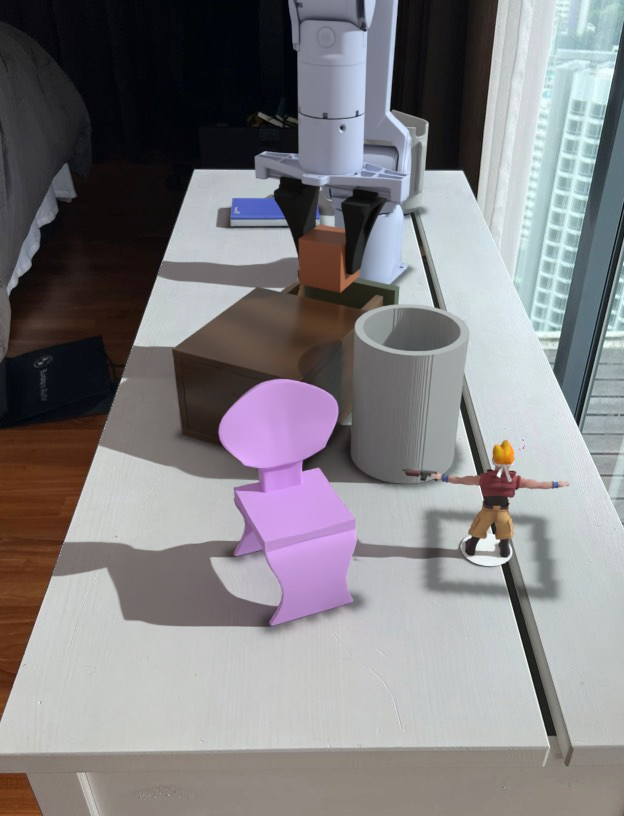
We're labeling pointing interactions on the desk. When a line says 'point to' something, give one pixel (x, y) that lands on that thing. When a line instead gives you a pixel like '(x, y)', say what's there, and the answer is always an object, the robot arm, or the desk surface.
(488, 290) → the desk surface
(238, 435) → the toy chair
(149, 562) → the desk surface
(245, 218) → the blue book
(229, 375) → the cabinet
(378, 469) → the cup
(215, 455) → the desk surface
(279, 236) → the desk surface
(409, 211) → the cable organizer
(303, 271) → the block
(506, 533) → the action figure
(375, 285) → the drawer
